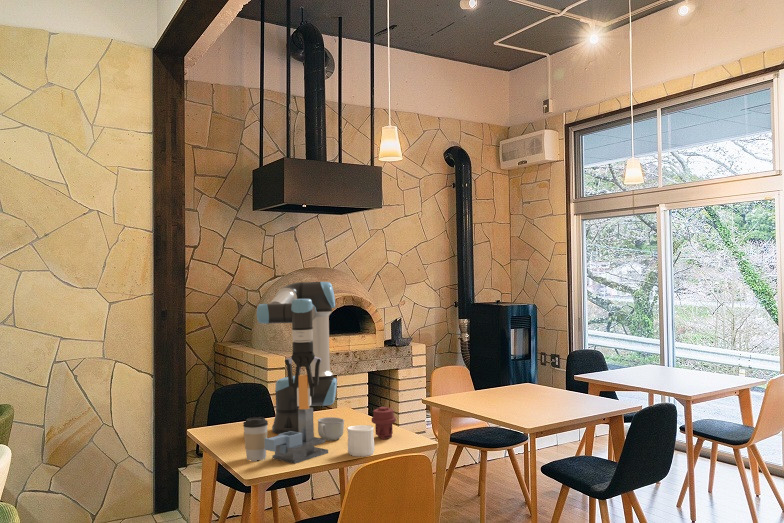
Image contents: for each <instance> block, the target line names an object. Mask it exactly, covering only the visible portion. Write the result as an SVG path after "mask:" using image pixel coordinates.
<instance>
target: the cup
mask: <svg viewBox="0 0 784 523" xmlns="http://www.w3.org/2000/svg"><path fill="white" fill-rule="evenodd" d="M374 428H375V427H374V426H373V425H368V424H364V425H363V424H358V425H352V426H351V425H350V426H348V427H347V428H346V430H347V452H348V454H349V455H350V456H351V455H352V456H351V457H360V456H361V457H370V456H372V455H373V454H374V453H375V452H374V451H375V440H374Z"/></svg>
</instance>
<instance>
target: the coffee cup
mask: <svg viewBox="0 0 784 523" xmlns="http://www.w3.org/2000/svg"><path fill="white" fill-rule="evenodd" d="M268 422H269V421H268V420H267V419H266V418H265V417H263V416H258V417H257V416H255V417H249V418H246V419H245V421H244V422H243V423H242V424H243V425H242V427H243V438H244V448H245V454H246V461H248V460H251V461H250V462H258V461H257V460H261V461H264V460H266V459H267V450H265V438H268V432H269V431H268V425H269V423H268ZM265 458H266V459H265ZM263 459H264V460H263Z"/></svg>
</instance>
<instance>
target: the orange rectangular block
mask: <svg viewBox="0 0 784 523" xmlns="http://www.w3.org/2000/svg"><path fill="white" fill-rule="evenodd" d="M298 377H299V409H309V407H311V406H308V387H309V381H308V376H307V374H300V375H299V376H298Z"/></svg>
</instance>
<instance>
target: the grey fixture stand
mask: <svg viewBox="0 0 784 523" xmlns="http://www.w3.org/2000/svg"><path fill="white" fill-rule="evenodd" d="M314 424H315V422H314V407H312V406H310V407H309V409H299V408H298V428H299V433H302V444H301V445H297V446H294V447H291V448H289V447H286V453H285V454H284V453H280V446H279V445H277V446H276V451H275V452H274V454H272V459H273V458H274V460H278V461H281V462H285V463H290V464H294V465H296V464H299V463H301V462H304V461H308V460H310V459H314V458H317V457H321V456H323V455H326V454H329V449H326V448H321V447H317V445H320V444H324V443H326V440H325V439H322V438H321V437H316V436H315V433H314V430H315V429H314V426H315V425H314Z"/></svg>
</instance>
